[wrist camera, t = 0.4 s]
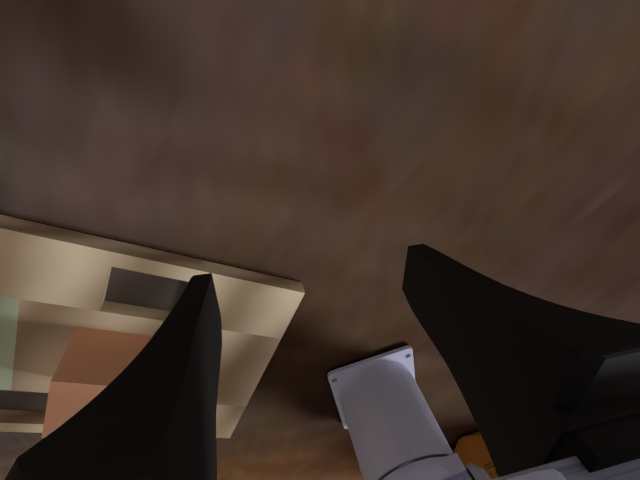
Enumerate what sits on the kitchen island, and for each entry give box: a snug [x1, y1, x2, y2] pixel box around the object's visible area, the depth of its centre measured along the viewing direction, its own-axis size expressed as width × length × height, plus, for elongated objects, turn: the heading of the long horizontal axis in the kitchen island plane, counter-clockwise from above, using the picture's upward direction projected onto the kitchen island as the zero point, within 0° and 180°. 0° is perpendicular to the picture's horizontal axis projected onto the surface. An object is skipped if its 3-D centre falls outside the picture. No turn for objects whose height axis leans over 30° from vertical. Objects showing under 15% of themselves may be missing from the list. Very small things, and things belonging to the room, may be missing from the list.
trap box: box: [0, 214, 305, 438], centre depth 23 cm, size 22×17×3 cm
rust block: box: [41, 326, 153, 438], centre depth 22 cm, size 5×5×4 cm
